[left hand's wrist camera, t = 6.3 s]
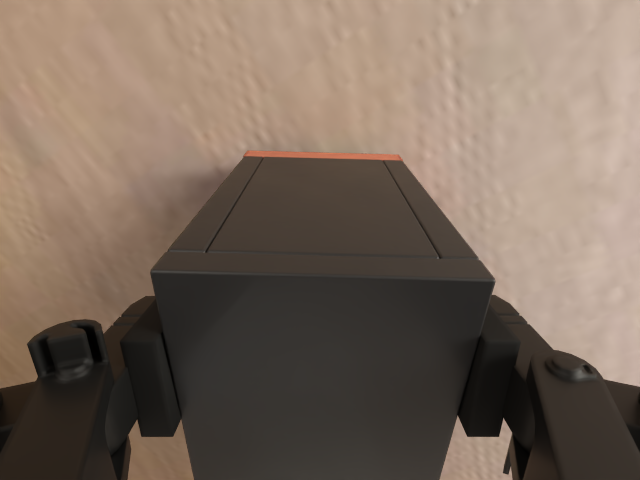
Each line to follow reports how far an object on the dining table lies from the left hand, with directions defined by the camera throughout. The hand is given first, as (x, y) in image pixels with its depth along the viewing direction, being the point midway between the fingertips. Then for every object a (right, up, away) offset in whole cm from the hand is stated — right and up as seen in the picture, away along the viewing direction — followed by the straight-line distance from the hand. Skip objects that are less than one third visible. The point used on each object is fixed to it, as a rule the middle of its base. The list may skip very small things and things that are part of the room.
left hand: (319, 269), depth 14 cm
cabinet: (0, -2, +6) cm, 7 cm away
